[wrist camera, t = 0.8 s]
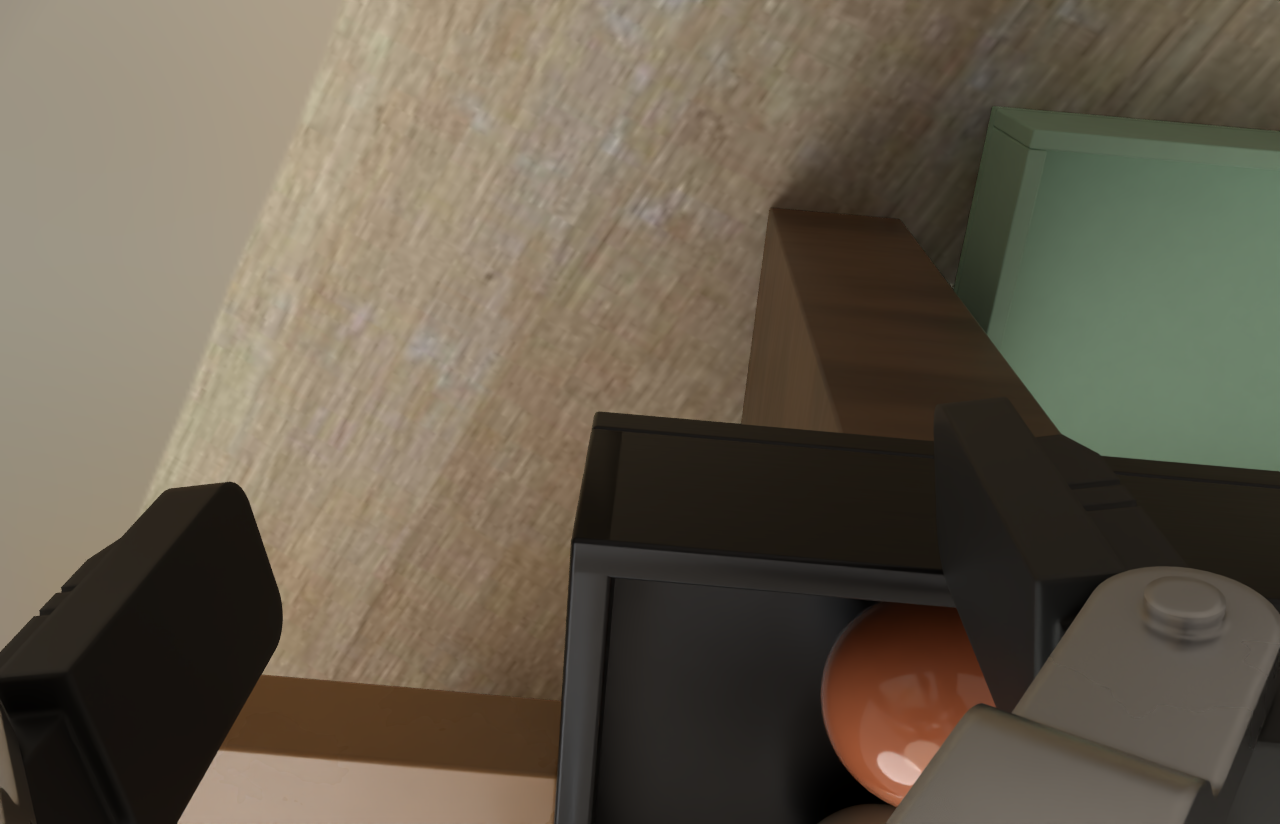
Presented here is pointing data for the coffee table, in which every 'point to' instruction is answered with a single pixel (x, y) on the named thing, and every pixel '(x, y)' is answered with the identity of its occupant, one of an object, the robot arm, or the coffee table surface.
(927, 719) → the terracotta ball
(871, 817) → the cream ball
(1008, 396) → the block
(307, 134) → the coffee table surface
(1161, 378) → the tray
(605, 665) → the pan
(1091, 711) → the robot arm
